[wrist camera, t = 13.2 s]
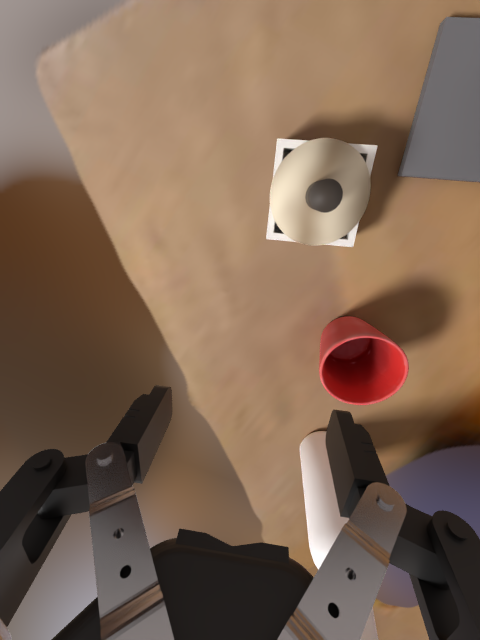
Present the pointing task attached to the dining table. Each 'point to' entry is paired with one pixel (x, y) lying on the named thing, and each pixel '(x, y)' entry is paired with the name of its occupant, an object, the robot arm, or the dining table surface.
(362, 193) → the lid
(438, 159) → the mat
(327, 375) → the flower pot
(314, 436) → the alcohol
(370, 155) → the dish
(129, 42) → the dining table surface
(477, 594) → the robot arm
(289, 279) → the dining table surface
